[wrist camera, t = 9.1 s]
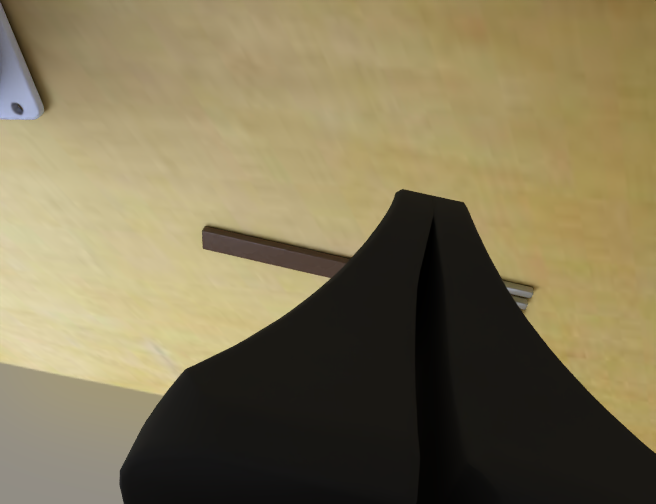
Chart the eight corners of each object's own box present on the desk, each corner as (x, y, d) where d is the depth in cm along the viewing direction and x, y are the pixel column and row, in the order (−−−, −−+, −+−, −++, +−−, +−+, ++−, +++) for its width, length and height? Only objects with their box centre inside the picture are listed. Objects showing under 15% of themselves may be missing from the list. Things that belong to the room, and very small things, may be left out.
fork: (205, 255, 27) (202, 260, 27) (204, 213, 26) (201, 218, 25) (514, 326, 26) (514, 332, 26) (533, 287, 24) (533, 293, 24)
